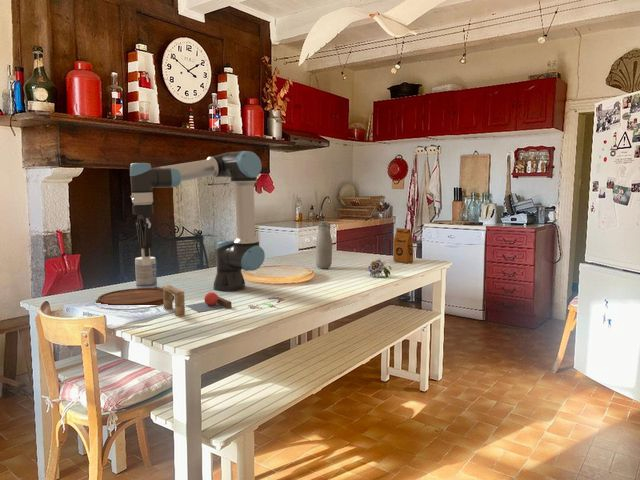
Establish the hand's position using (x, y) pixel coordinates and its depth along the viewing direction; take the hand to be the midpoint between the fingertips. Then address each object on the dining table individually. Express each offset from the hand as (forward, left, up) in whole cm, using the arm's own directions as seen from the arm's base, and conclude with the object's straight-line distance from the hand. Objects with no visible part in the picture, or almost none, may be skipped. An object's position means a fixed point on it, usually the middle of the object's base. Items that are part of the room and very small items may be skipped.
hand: (146, 264), depth 188 cm
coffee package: (-172, -24, -19) cm, 175 cm away
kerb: (-28, +6, -19) cm, 34 cm away
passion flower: (-125, +1, -19) cm, 127 cm away
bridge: (-8, +6, -19) cm, 21 cm away
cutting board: (-2, -23, -20) cm, 31 cm away
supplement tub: (-14, -45, -19) cm, 51 cm away
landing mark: (-22, +6, -19) cm, 30 cm away
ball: (-24, +5, -16) cm, 30 cm away
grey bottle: (-116, -36, -19) cm, 123 cm away
